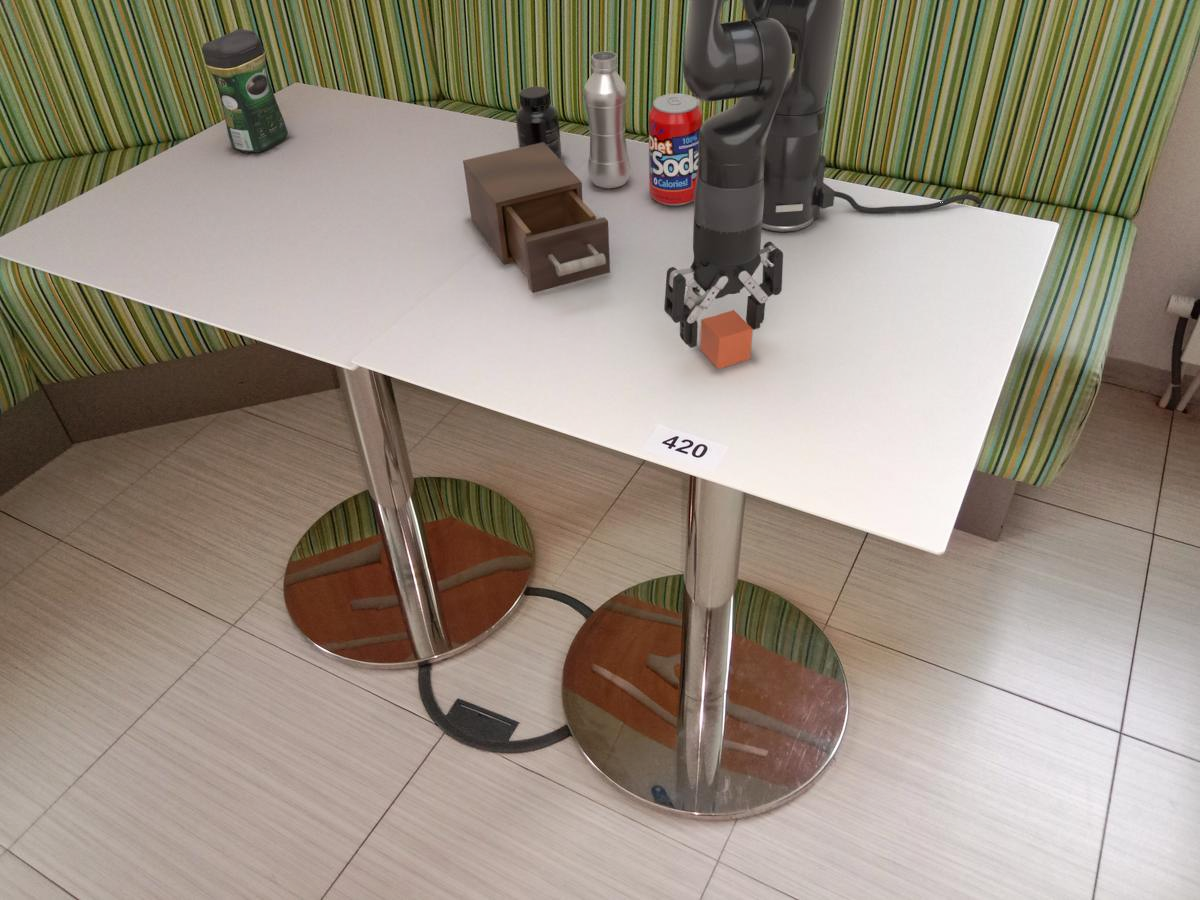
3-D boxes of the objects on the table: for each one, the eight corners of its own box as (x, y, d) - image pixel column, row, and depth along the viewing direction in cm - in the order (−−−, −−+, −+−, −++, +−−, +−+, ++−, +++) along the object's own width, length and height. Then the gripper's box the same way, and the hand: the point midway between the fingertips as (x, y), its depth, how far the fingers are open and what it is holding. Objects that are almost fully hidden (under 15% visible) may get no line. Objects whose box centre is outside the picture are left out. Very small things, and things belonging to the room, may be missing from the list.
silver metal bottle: (627, 194, 151) (623, 64, 137) (584, 192, 152) (576, 63, 138) (634, 175, 155) (631, 48, 142) (593, 173, 156) (586, 47, 143)
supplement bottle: (555, 151, 163) (549, 80, 155) (567, 168, 158) (562, 95, 150) (516, 158, 162) (508, 87, 154) (526, 176, 157) (519, 103, 149)
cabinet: (585, 243, 140) (581, 181, 134) (503, 264, 137) (495, 202, 130) (548, 201, 150) (543, 141, 144) (471, 220, 147) (462, 160, 140)
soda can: (691, 182, 153) (693, 87, 143) (707, 205, 147) (710, 108, 137) (643, 189, 151) (641, 95, 141) (657, 213, 146) (657, 116, 136)
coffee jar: (264, 128, 176) (233, 22, 163) (296, 136, 172) (267, 28, 160) (224, 149, 170) (189, 41, 157) (256, 158, 166) (223, 48, 154)
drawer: (624, 288, 129) (622, 236, 124) (544, 310, 126) (539, 258, 121) (572, 228, 142) (569, 179, 136) (499, 247, 138) (492, 197, 133)
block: (732, 339, 121) (733, 309, 118) (750, 359, 118) (752, 328, 115) (700, 349, 120) (701, 319, 117) (717, 369, 116) (719, 338, 113)
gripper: (767, 184, 110) (757, 305, 121) (654, 212, 107) (654, 333, 117) (802, 213, 105) (789, 336, 116) (685, 242, 101) (682, 367, 112)
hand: (721, 334), depth 117 cm, fingers open, 8 cm apart
